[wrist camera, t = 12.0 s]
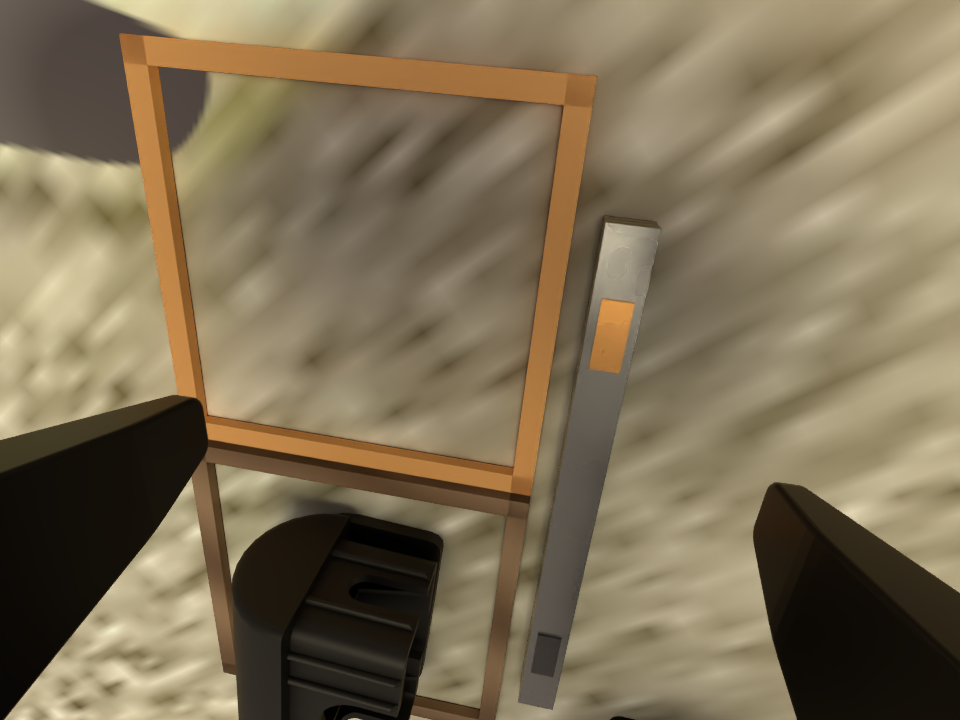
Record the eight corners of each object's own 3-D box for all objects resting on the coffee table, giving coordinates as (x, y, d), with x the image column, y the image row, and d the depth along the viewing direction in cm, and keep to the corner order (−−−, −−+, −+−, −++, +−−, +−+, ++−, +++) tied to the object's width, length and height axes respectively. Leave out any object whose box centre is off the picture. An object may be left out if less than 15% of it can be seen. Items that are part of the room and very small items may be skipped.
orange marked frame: (531, 487, 22) (530, 496, 21) (192, 428, 24) (184, 435, 23) (596, 76, 16) (597, 76, 15) (131, 35, 17) (119, 33, 17)
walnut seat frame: (494, 723, 28) (493, 733, 28) (229, 663, 30) (223, 672, 29) (530, 496, 22) (529, 504, 22) (193, 436, 24) (186, 443, 23)
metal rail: (553, 685, 26) (552, 712, 25) (520, 678, 26) (517, 704, 25) (656, 221, 17) (661, 229, 16) (604, 215, 17) (605, 223, 16)
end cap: (290, 487, 24) (192, 614, 18) (447, 525, 24) (400, 669, 17) (289, 640, 28) (210, 785, 22) (422, 676, 28) (377, 833, 22)
